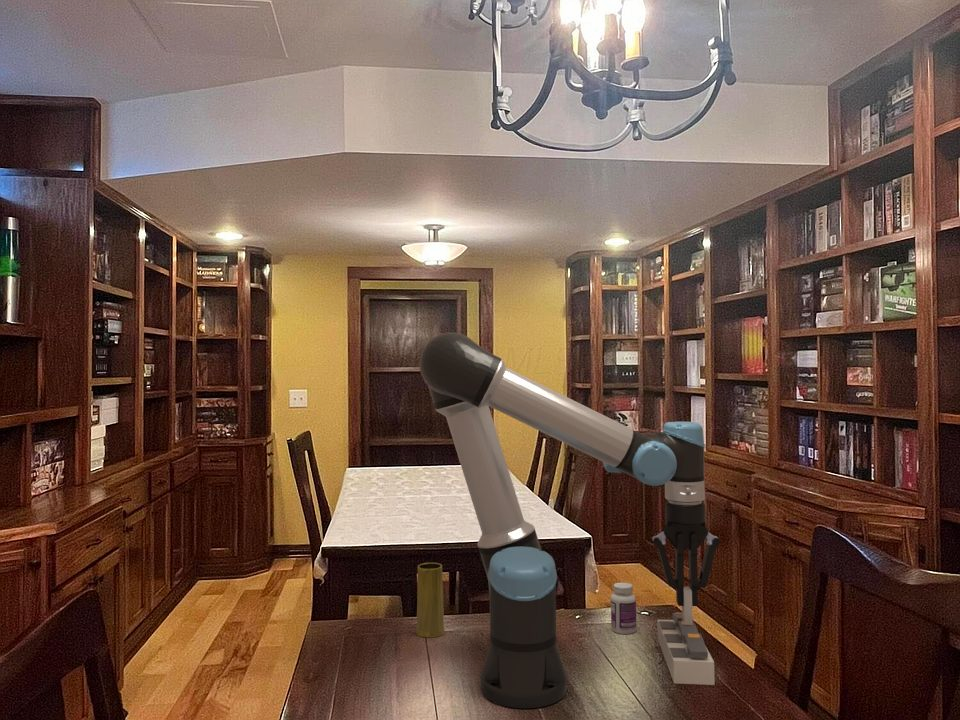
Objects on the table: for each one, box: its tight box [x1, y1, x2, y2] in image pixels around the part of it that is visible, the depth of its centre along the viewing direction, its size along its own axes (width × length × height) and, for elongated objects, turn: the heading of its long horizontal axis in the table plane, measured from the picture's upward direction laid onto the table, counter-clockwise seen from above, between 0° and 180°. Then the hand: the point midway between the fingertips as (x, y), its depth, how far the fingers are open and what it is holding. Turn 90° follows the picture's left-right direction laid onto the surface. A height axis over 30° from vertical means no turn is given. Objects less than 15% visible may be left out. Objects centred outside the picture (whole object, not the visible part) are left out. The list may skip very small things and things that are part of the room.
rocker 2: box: [678, 621, 700, 642], centre depth 138 cm, size 3×6×1 cm, turn 174°
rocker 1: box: [672, 612, 694, 624], centre depth 145 cm, size 3×6×1 cm, turn 174°
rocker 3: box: [684, 633, 709, 658], centre depth 131 cm, size 3×6×1 cm, turn 174°
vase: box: [415, 562, 446, 639], centre depth 153 cm, size 6×6×14 cm
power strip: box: [656, 619, 715, 686], centre depth 138 cm, size 7×21×5 cm, turn 174°
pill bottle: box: [610, 582, 637, 635], centre depth 154 cm, size 5×5×10 cm
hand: (687, 622), depth 140 cm, fingers closed
